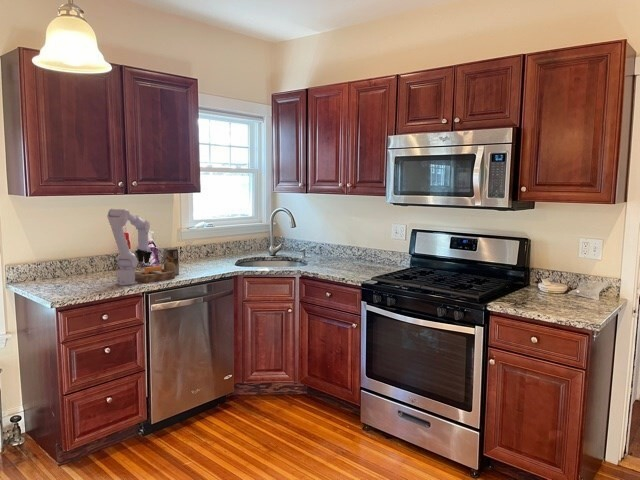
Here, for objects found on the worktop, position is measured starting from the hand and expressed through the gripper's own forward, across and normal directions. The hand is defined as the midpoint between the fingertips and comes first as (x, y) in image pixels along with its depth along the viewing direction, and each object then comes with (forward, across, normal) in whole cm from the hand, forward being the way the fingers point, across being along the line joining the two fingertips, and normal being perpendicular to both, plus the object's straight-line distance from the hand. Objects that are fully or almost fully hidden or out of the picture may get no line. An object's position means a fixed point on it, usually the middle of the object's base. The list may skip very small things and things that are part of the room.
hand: (143, 262), depth 287 cm
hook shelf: (+10, -6, -3) cm, 12 cm away
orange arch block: (+8, -6, -3) cm, 11 cm away
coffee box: (+10, +1, -19) cm, 21 cm away
